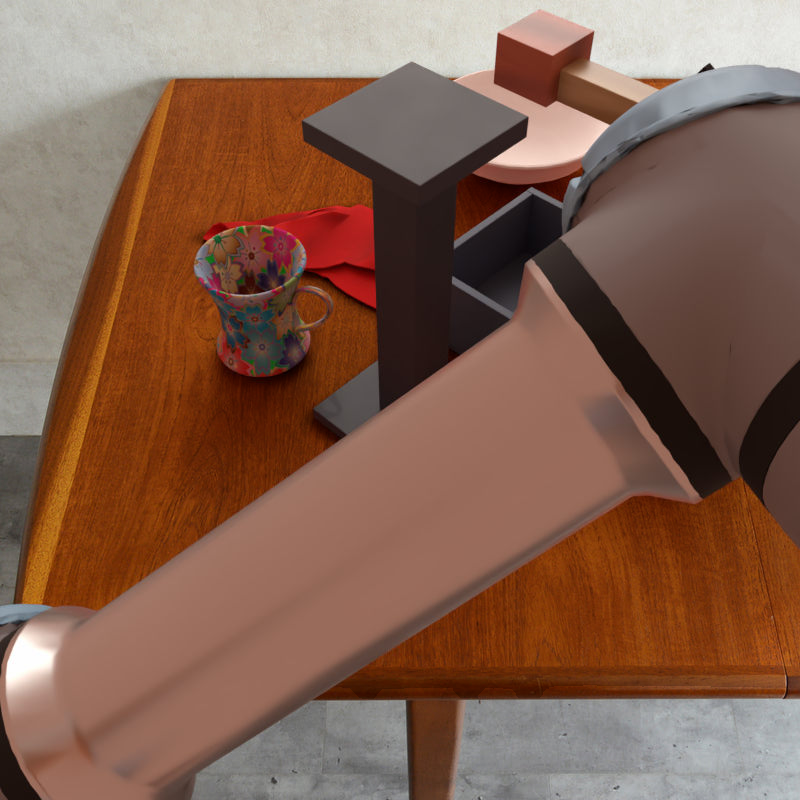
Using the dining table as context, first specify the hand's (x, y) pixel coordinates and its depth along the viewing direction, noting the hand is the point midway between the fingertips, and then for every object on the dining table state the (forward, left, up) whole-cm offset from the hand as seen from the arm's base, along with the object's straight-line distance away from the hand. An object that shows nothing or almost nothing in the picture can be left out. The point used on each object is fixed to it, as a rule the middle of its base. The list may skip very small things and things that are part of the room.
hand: (681, 87), depth 59 cm
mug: (-19, +23, -28) cm, 41 cm away
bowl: (+19, +26, -28) cm, 43 cm away
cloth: (-5, +30, -28) cm, 41 cm away
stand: (-16, +9, -28) cm, 33 cm away
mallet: (0, +3, -4) cm, 5 cm away
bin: (0, +4, -28) cm, 28 cm away
